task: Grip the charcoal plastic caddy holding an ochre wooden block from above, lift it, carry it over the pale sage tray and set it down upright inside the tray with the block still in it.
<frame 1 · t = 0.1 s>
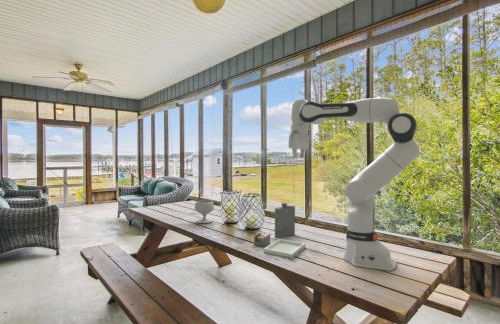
hand: (298, 157, 145), 48 cm above the table, tool pointing down, fingers open, 8 cm apart
block: (262, 244, 151), point 1 cm above the table, touching caddy
caddy: (262, 245, 151), on the table, touching block
tray: (285, 250, 143), on the table
chalice: (204, 222, 203), on the table
hip flask: (284, 236, 169), on the table
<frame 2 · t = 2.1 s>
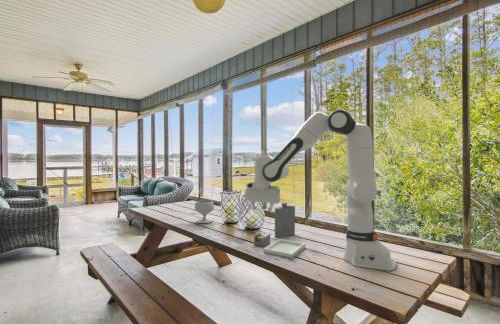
hand: (262, 210, 150), 19 cm above the table, tool pointing down, fingers open, 8 cm apart
nothing on the table moved.
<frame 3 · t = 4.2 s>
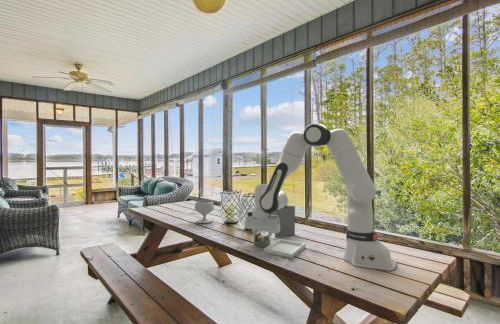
hand: (262, 238, 151), 4 cm above the table, tool pointing down, fingers closed on caddy, 6 cm apart
caddy: (262, 245, 151), on the table, touching block, gripper
everything else where it was.
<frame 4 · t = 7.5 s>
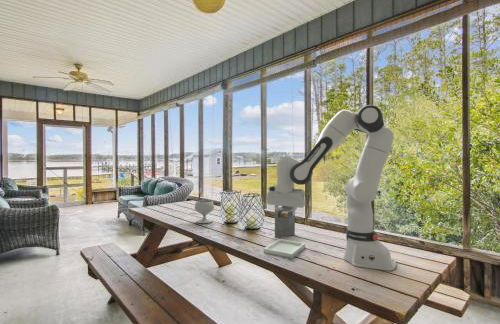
hand: (285, 214, 142), 19 cm above the table, tool pointing down, fingers closed on caddy, 6 cm apart
block: (285, 220, 142), point 16 cm above the table, touching caddy
caddy: (285, 221, 142), point 15 cm above the table, touching block, gripper
everything else where it was.
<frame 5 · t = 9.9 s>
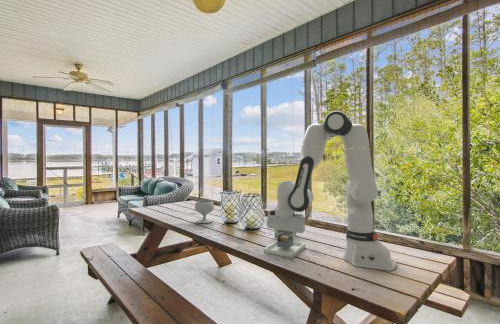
hand: (285, 238, 142), 6 cm above the table, tool pointing down, fingers closed on caddy, 6 cm apart
block: (285, 244, 143), point 3 cm above the table, touching caddy
caddy: (285, 245, 143), point 2 cm above the table, touching block, gripper
everything else where it was.
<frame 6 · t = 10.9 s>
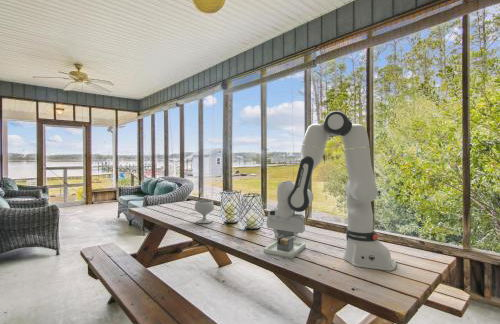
hand: (285, 238, 143), 6 cm above the table, tool pointing down, fingers open, 8 cm apart
block: (285, 247, 143), point 2 cm above the table, touching caddy
caddy: (285, 248, 143), point 1 cm above the table, touching block, tray
everything else where it was.
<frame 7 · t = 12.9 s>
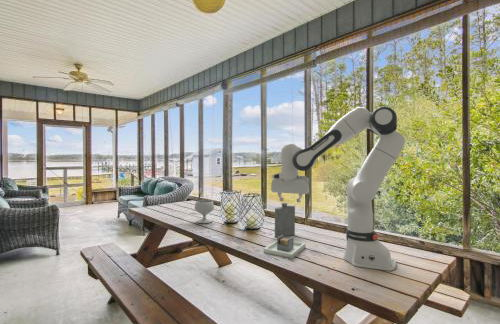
hand: (289, 201, 145), 25 cm above the table, tool pointing down, fingers open, 8 cm apart
nothing on the table moved.
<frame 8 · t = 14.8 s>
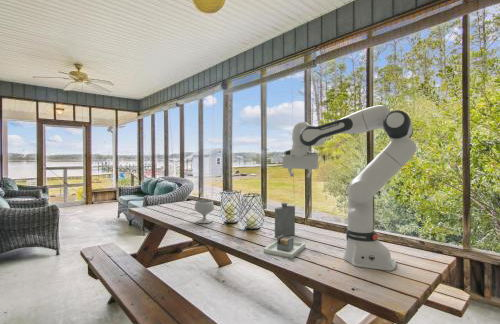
hand: (299, 177, 153), 37 cm above the table, tool pointing down, fingers open, 8 cm apart
nothing on the table moved.
at the end: caddy inside the target area on the tray (0.1 cm from its centre), point 1.0 cm above the tray's base; caddy tilted 0°; block 0.0 cm from the caddy (horizontally) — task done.
